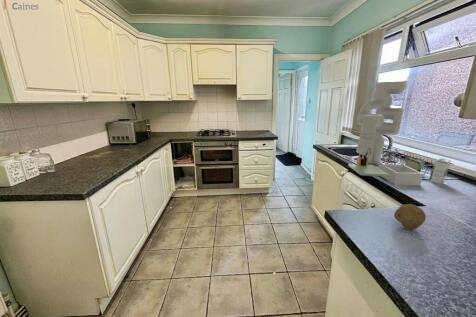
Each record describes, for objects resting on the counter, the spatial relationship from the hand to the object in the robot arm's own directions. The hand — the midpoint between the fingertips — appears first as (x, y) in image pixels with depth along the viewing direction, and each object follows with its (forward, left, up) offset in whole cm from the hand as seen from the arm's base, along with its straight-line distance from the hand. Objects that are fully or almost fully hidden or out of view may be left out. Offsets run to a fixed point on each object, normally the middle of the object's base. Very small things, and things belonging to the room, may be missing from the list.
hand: (362, 164), depth 132 cm
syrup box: (+7, +40, -8) cm, 42 cm away
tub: (+6, +19, -8) cm, 22 cm away
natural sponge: (+55, -8, -8) cm, 57 cm away
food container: (-8, +38, -8) cm, 40 cm away
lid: (+6, 0, -3) cm, 7 cm away
